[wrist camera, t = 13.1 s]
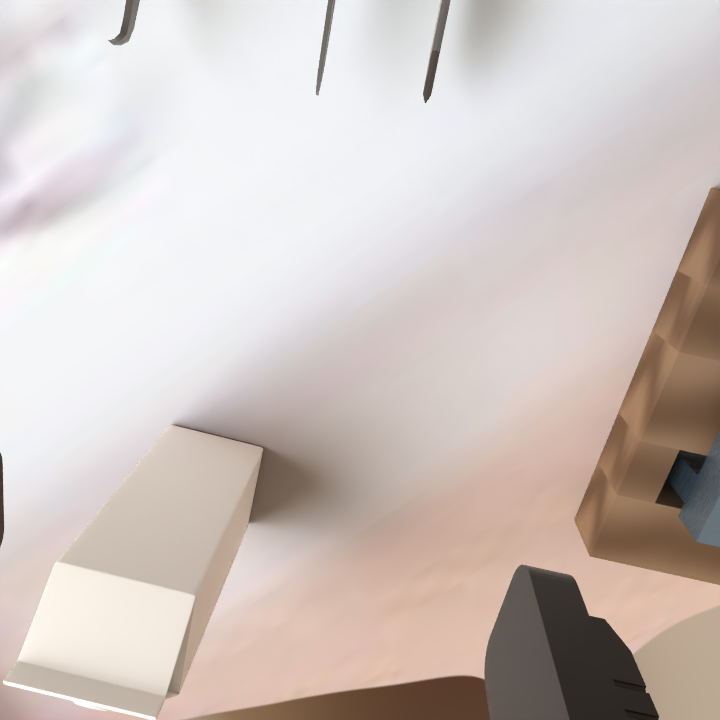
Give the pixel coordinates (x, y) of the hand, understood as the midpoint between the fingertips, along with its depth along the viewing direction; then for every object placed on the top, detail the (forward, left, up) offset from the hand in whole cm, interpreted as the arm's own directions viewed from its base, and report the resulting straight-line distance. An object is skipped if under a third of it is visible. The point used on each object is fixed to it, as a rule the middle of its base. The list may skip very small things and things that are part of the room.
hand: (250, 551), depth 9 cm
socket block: (+5, +24, -30) cm, 39 cm away
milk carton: (+20, -8, -30) cm, 37 cm away
